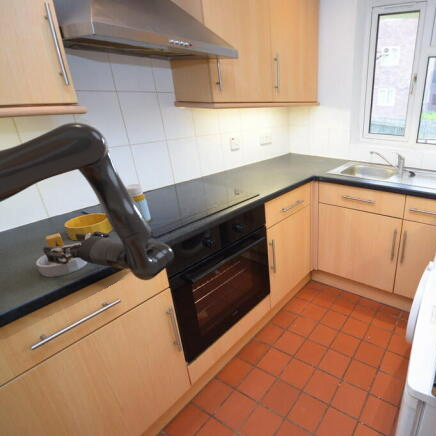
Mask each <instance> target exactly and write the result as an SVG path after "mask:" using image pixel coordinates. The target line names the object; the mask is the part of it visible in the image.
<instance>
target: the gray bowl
mask: <svg viewBox="0 0 436 436" xmlns="http://www.w3.org/2000/svg"><path fill="white" fill-rule="evenodd" d="M67 250H68V253H69V254H70V248H68V249H67ZM87 264H88V262H85V261H84V260H82V259H80V258H71V259H70V261H68V263H67V264H56V263H53V262H49V261H48V258H47V256H46V255H45V254H44V255H42V256H40V257H39V258H38V259H37V260H36V263H35V265H36V267H37V269H38V271H39V273H40V274H41V276H43V277H48V278H54V277H60V276H65V275H69V274H71V273H74V272H76V271H78V270H80V269H83V268H84V267H85V266H87Z"/></svg>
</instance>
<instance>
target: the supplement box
mask: <svg viewBox="0 0 436 436" xmlns="http://www.w3.org/2000/svg"><path fill="white" fill-rule="evenodd" d="M45 241H46V243H47V245H48V247H53V248H62V247H63V246H64V245H65V243H64V241H63V239H62V236H61V234H60V232H57V233H54V234H50V235H45ZM58 253H61V254H62V251H58ZM68 261H70V259H69V260H68ZM56 264H59V263H56Z"/></svg>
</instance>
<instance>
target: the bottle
mask: <svg viewBox="0 0 436 436" xmlns="http://www.w3.org/2000/svg"><path fill="white" fill-rule="evenodd" d="M125 187H126V189H127V190H128V192H129V193H130V195H131V196H132V198H133V199H134V201H135V202H136V204H137V206H138V207H139V209H140V210H141V212H142V214H143V215H144V217H145V219H146V220H147V222H148V223H149V222H150V221H151V219H152V218H151V215H150V214H151V213H150V209H149V205H148V201H147V198H146V195H145V194H144V192H143V188H142V185H141V184H139V183H137V184H127V185H125Z"/></svg>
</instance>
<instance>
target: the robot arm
mask: <svg viewBox="0 0 436 436" xmlns="http://www.w3.org/2000/svg"><path fill="white" fill-rule="evenodd" d="M77 170H78V171H79V172H80V174H81V175H82V176H83V178H85V180H86V182H87V183H88V184H89V186H90V187H91V189H92V191H93V193H94V194H95V196H96V198H97V200H98V202H99V204H100V207H101V209H102V211H103V214H105V215H106V217H107V219H108V220H109V222H110V224H111V226H112V227H113V229H112V230H114V232H115V233H116V235H117V236H118V238H119V239H114V238H111V236H110V233H108V234H107V233H102V232H98V231H96V232H93V234H80V233H77V234H75V236H76V239H77V240H76V241H78V242H75V243H73V244H66V245H65V244H64V246H63V247H62V248H53V247H49V245H48V246H47V245H46V246H44V247H43V249H42V251H43V254H44V255H46V256H47V258H48V261H49V262H53V263H59V264H67V263H68V260H69V259H71V258H80V259H82V260H84V261H85V262H87V263H88V264H89V263H90V264H94V265H99V266H104V267H113V268H119V269H121V270H122V269H123V270H130V272H131V273H132V275H133V276H134V277H135V278H137V279H139V280H141V281H150V280H153V279H154V278H156V276H158V275H159V274H160V273H161V272H162V271H164V270H165V269H166V268H168V267H169V266H170V265H171V264H172V263H173V262H174V260H175V252H174V250H173V248H172V247H170V246H169V245H168V244H166V243H163V242H161V241H160V242H159V241H150V240H151V238H152V237H153V234H154V231H153V229H152V227H151V225H150V223H149V222H147V220H146V219H145V217H144V215H143V214H142V212H141V210H140V209H139V207H138V206H137V204H136V202H135V201H134V199H133V198H132V196H131V195H130V193H129V192H128V190H127V189H126V187H125V186H126V185H125V183H124V182H123V180H122V179H121V177H120V175H119V173H118V171H117V169H116V167H115V164H114V162H113V159H112V156H111V153H110V150H109V145H108V142H107V139H106V137H105V135H104V134H103V133H101V132H100V130H98V128H96V127H94V126H92V125H89V124H87V123H82V122H75V121H73V122H67V123H62V124H61V125H58V126H57V127H55V128H53V129H50V130H49V131H47V132H45V133H43V134H41V135H39V136H36V137H34V138H32V139H30V140H27V141H24V142H22V143H20V144H18V145H15V146H11V147H8V148H5V149H1V150H0V203H2V202H3V201H5V200H8V199H10V198H12V197H14V196H16V195H17V194H19V193H21V192H23V191H25V190H27V189H29V188H30V187H32V186H34V185H35V184H37V183H40V182H42V181H45V180H48V179H50V178H53V177H56V176H59V175H63V174H65V173H69V172H72V171H77ZM68 248H70V254H69V253H68V250H67V249H68ZM58 251H62V254H61V253H58Z"/></svg>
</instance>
